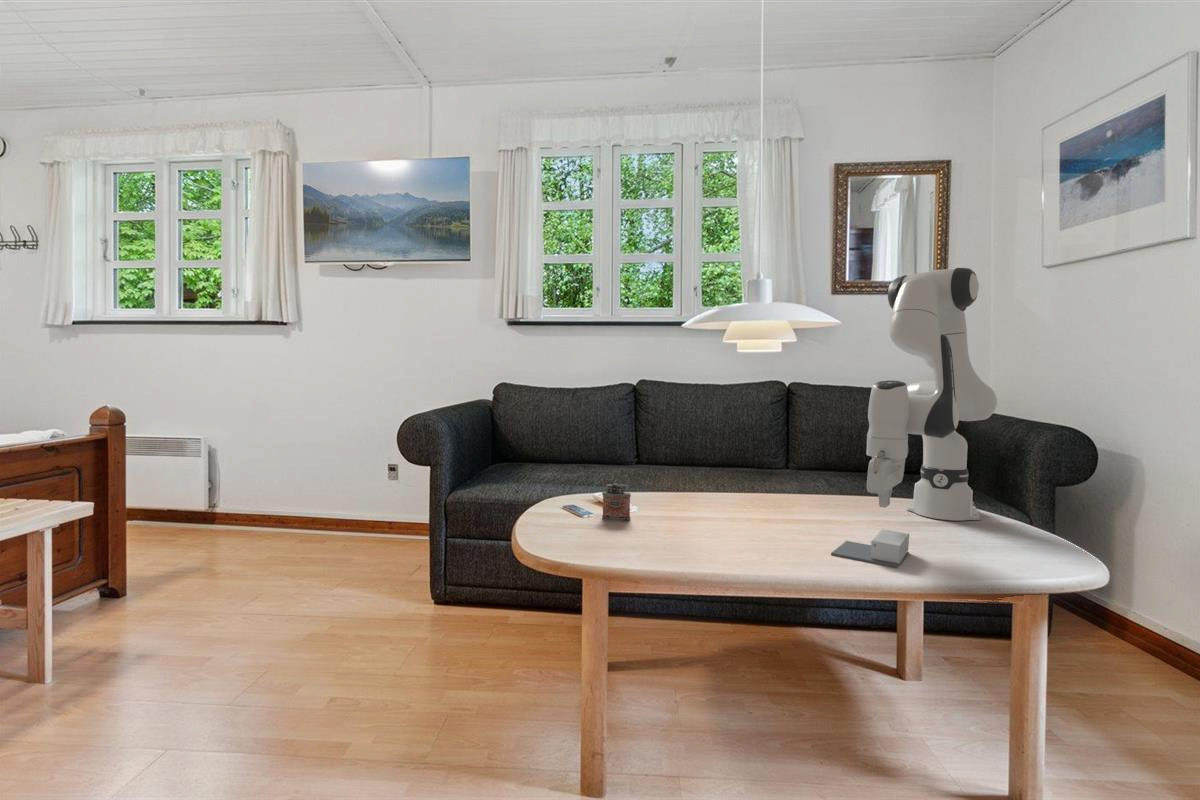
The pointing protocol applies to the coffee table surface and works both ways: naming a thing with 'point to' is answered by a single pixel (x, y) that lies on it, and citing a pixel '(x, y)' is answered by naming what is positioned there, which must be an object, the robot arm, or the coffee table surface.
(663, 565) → the coffee table surface
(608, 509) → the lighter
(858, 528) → the coffee table surface
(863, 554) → the mat
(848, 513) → the coffee table surface
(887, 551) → the skincare box
